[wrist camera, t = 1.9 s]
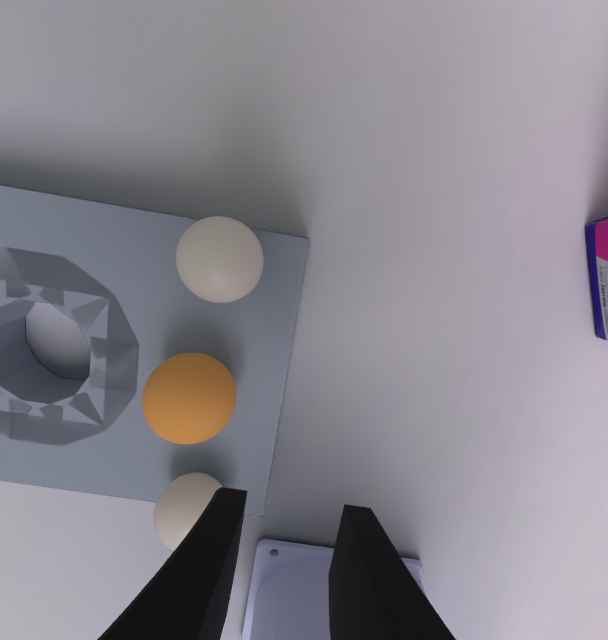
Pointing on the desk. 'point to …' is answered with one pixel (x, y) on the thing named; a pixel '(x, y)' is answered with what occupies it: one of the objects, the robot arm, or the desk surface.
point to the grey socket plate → (133, 349)
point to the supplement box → (599, 272)
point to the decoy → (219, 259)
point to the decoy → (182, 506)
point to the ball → (189, 398)
